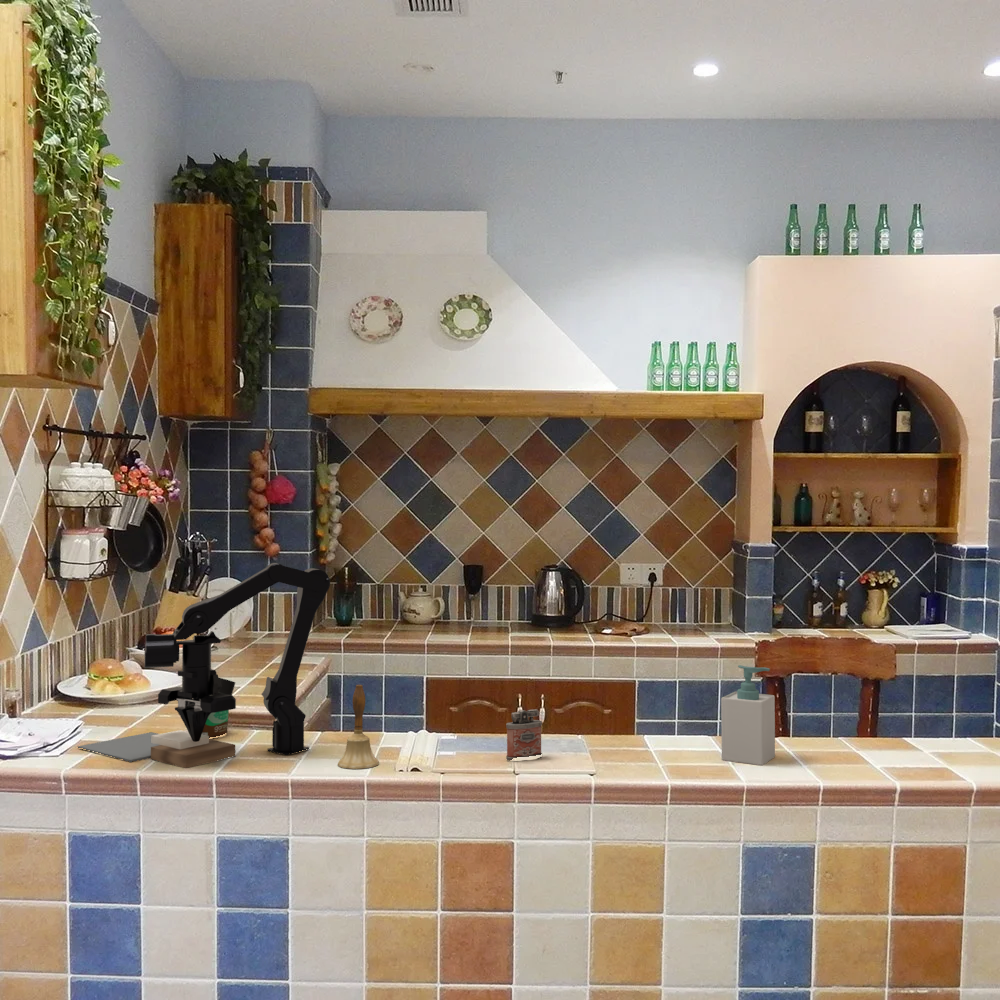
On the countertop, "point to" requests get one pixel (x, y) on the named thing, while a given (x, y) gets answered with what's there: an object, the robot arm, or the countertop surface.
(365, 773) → the countertop surface
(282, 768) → the countertop surface
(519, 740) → the lighter
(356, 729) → the hand bell
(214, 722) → the food container
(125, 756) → the mat
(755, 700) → the soap bottle
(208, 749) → the wooden block
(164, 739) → the tile
